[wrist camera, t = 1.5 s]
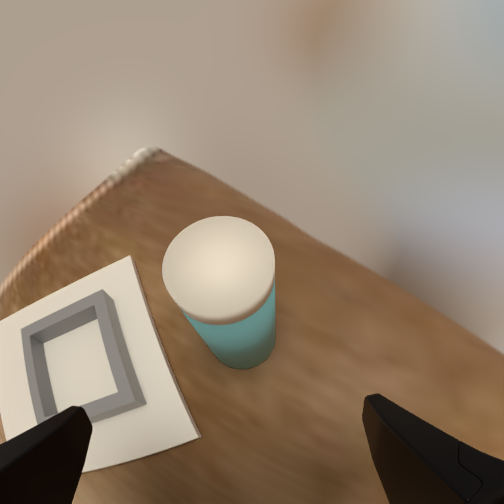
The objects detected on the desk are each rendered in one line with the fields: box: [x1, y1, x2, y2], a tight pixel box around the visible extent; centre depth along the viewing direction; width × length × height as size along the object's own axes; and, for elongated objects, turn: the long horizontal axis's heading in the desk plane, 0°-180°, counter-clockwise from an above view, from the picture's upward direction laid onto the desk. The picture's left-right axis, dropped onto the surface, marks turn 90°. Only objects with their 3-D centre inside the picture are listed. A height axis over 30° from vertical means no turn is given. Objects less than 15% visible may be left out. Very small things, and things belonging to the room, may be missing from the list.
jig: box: [0, 256, 202, 473], centre depth 20 cm, size 16×18×3 cm
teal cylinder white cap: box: [162, 216, 275, 369], centre depth 18 cm, size 5×5×11 cm
